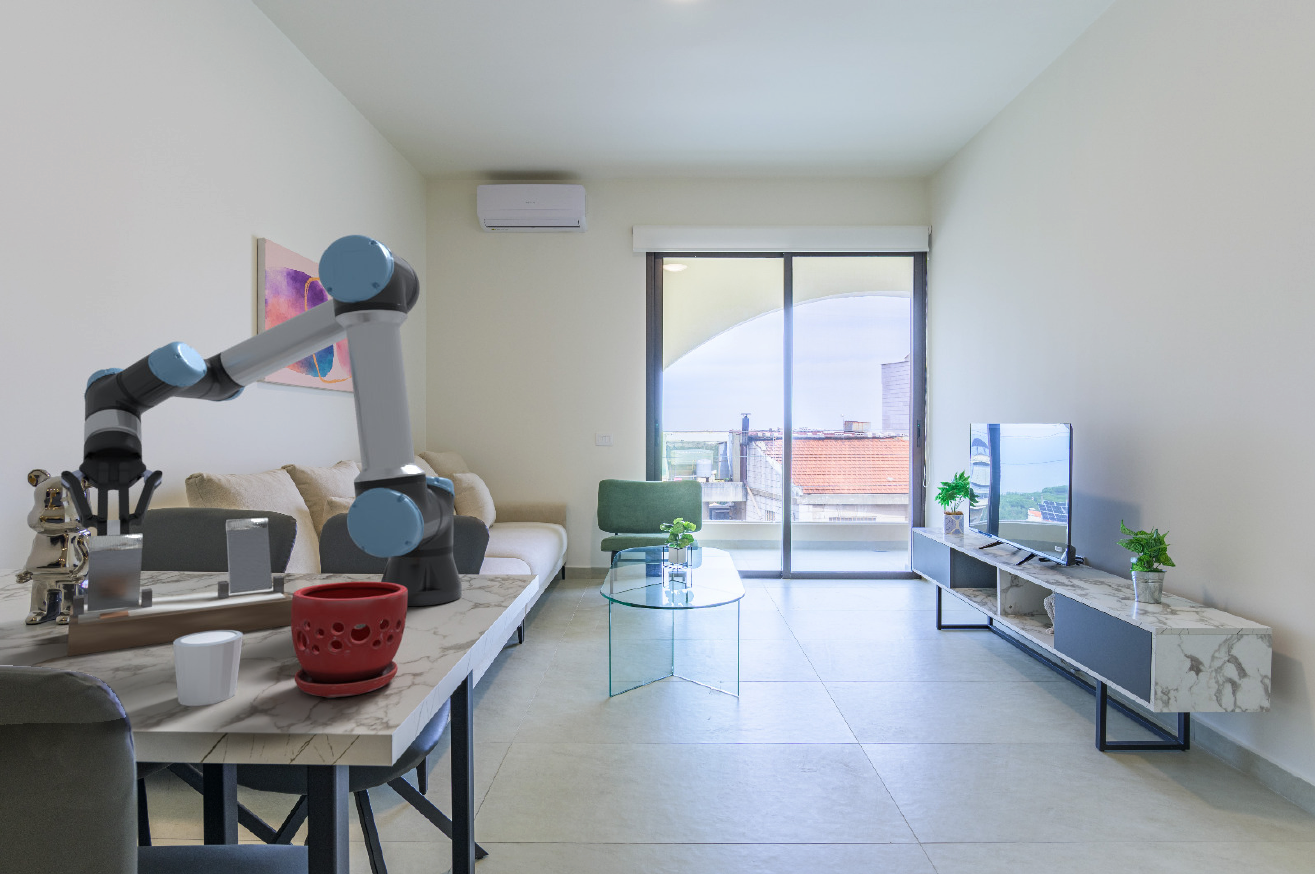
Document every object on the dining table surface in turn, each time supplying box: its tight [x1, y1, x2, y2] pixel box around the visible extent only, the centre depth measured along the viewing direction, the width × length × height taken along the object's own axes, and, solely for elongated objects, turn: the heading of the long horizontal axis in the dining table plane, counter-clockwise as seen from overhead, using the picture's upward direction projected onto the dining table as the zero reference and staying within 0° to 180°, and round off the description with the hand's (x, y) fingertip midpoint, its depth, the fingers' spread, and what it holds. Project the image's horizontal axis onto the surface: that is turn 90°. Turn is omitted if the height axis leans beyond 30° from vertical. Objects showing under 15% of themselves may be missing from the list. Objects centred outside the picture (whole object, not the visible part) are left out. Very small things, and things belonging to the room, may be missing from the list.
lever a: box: [225, 517, 273, 594], centre depth 117 cm, size 2×6×12 cm, turn 130°
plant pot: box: [290, 581, 408, 699], centre depth 86 cm, size 13×13×12 cm
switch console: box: [67, 575, 293, 657], centre depth 109 cm, size 14×28×7 cm, turn 130°
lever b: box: [86, 532, 144, 612], centre depth 101 cm, size 2×6×12 cm, turn 129°
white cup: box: [172, 630, 244, 707], centre depth 81 cm, size 7×7×7 cm
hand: (113, 560), depth 101 cm, fingers closed
